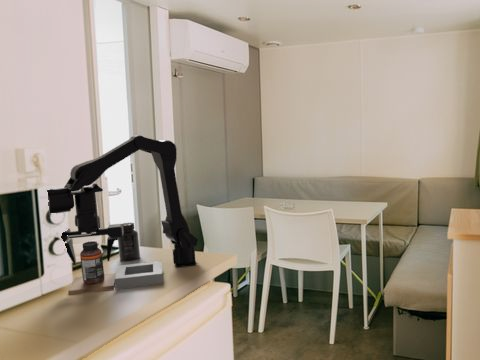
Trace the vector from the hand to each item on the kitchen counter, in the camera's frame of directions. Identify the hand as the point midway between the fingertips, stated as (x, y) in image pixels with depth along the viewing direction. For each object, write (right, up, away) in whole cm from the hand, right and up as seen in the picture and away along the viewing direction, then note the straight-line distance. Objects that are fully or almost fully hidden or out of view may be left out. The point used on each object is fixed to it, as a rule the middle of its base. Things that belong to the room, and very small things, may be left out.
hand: (91, 262), depth 136 cm
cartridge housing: (+13, -5, +3) cm, 15 cm away
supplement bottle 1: (0, -6, +1) cm, 6 cm away
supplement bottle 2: (+5, -3, +27) cm, 27 cm away
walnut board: (0, -6, +1) cm, 6 cm away
